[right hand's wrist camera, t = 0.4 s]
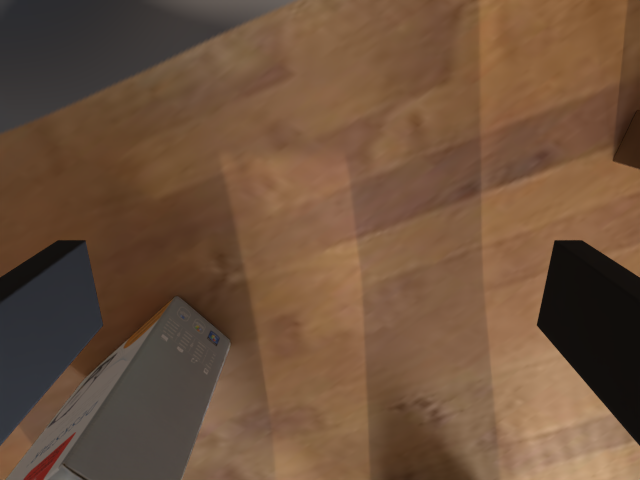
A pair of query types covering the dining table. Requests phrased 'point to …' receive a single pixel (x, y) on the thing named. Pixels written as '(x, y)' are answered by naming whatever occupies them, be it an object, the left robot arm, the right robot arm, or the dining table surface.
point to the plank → (630, 145)
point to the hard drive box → (135, 406)
